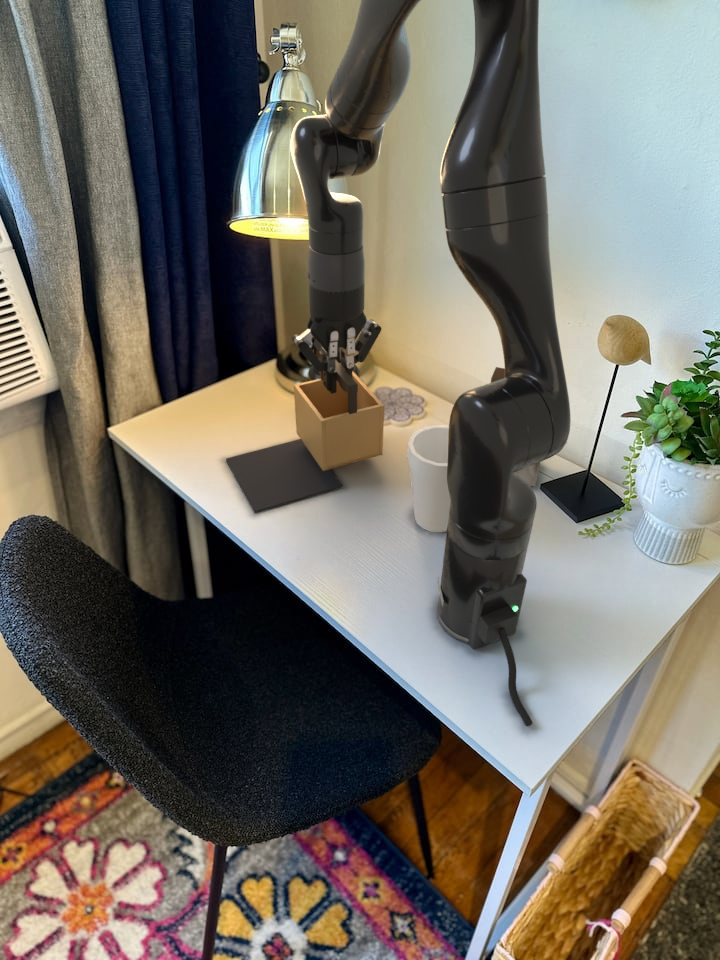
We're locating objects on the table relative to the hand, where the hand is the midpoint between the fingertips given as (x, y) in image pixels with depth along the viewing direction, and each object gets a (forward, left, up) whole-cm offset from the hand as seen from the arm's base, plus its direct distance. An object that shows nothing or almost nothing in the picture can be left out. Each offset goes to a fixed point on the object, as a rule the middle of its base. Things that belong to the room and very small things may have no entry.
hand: (338, 388), depth 107 cm
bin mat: (0, +10, -13) cm, 16 cm away
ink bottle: (+15, -6, -13) cm, 21 cm away
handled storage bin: (0, 0, -10) cm, 10 cm away
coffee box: (-14, -23, -13) cm, 30 cm away
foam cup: (-19, -7, -13) cm, 24 cm away
